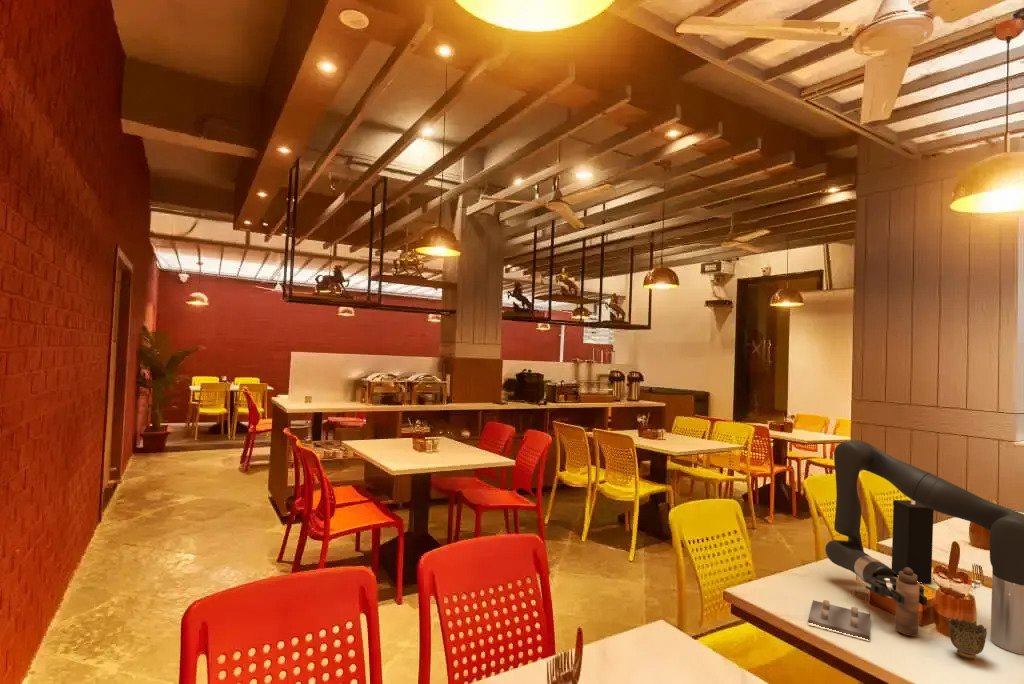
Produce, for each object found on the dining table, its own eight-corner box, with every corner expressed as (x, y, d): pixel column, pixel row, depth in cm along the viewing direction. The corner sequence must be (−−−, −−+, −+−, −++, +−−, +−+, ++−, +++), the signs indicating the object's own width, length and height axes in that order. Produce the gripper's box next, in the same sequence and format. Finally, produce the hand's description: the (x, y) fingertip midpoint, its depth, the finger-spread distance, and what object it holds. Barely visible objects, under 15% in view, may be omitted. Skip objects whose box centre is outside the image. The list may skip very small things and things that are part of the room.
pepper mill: (917, 629, 148) (919, 566, 148) (918, 637, 144) (920, 573, 144) (894, 623, 151) (896, 562, 151) (895, 631, 147) (897, 568, 147)
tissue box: (931, 584, 179) (934, 497, 179) (906, 583, 179) (909, 496, 179) (914, 574, 187) (917, 490, 187) (890, 573, 187) (893, 490, 187)
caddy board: (869, 619, 155) (870, 606, 155) (869, 641, 143) (869, 628, 143) (812, 605, 162) (813, 593, 162) (807, 625, 151) (808, 612, 151)
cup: (947, 645, 142) (948, 614, 142) (985, 656, 138) (986, 624, 138) (946, 657, 136) (947, 625, 136) (986, 669, 132) (987, 635, 132)
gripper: (850, 559, 162) (886, 585, 145) (901, 561, 161) (943, 588, 144) (849, 585, 162) (885, 614, 145) (900, 587, 162) (942, 616, 145)
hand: (914, 601), depth 145 cm, fingers closed on pepper mill, 5 cm apart
